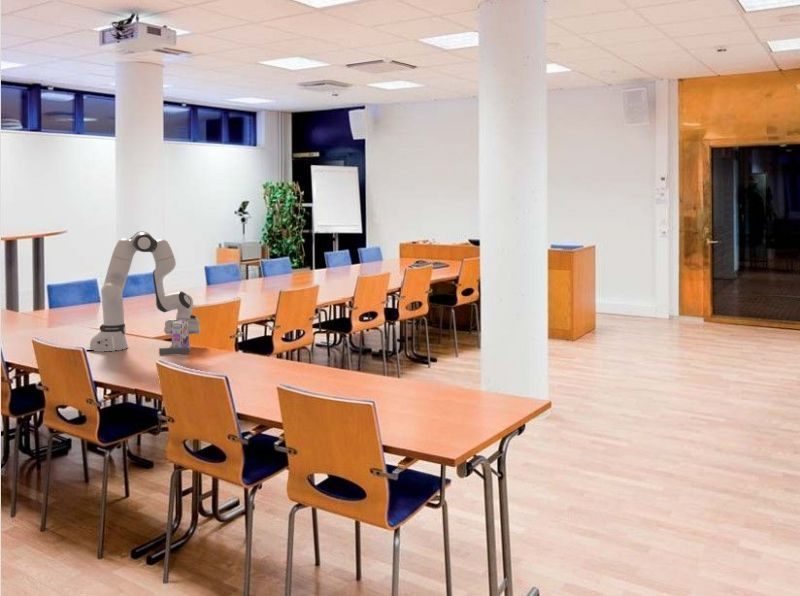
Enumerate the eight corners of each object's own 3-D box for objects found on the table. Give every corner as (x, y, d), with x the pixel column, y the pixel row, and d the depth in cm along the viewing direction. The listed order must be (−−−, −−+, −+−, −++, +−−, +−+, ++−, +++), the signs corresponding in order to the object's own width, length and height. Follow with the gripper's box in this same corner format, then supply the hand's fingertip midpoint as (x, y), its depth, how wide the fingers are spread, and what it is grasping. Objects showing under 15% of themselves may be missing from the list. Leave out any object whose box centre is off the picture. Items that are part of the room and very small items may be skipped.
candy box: (182, 352, 414) (181, 323, 412) (171, 352, 414) (170, 323, 412) (189, 347, 428) (188, 319, 425) (179, 347, 428) (178, 319, 426)
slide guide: (159, 354, 407) (159, 348, 407) (166, 348, 426) (166, 342, 425) (189, 354, 409) (188, 348, 408) (195, 347, 427) (194, 341, 427)
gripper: (164, 316, 432) (161, 336, 424) (200, 316, 434) (197, 335, 426) (166, 323, 437) (163, 342, 429) (201, 322, 439) (199, 342, 431)
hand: (181, 339), depth 427 cm, fingers closed
